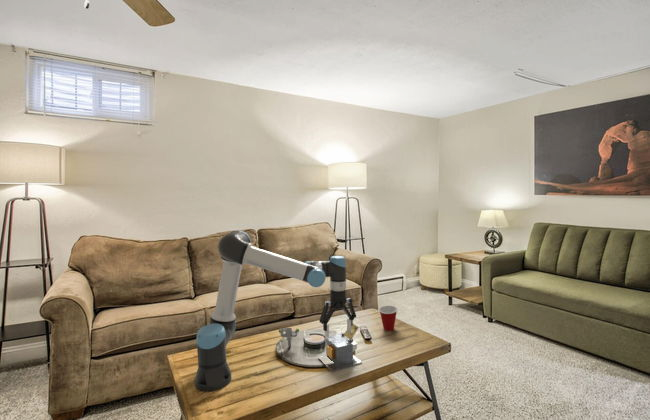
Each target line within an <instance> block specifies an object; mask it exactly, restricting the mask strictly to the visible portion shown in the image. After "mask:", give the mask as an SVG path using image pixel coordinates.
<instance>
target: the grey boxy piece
mask: <svg viewBox="0 0 650 420" xmlns="http://www.w3.org/2000/svg"><path fill="white" fill-rule="evenodd" d="M344 333H345V332H341V333H339V334H335V335H331V336H330V335H329V338H328V339H327V338H326V337H325V351H326V352H325V353H326V355H325V356H327V357H328V358H329V359H330V360H331V361H333V362H334V364H331V365H326V366H325V368H327V370H329V371H330V373H334V372H338V371H341V370H343V369H346V368H347V369H348V368H351V367H354V366H357V365H360V364H362V363H363V362H362V360H361V359H359V358H358V357H356V355H354V350H353V342H354V339H353V338H351V339H348V338H347V337H346V336H344ZM327 345H330V346H331V347H332V348H333V349H334V359H331V358H330V357H329V356H328V355H327ZM323 356H324V355H323ZM323 356H321V357H323Z"/></svg>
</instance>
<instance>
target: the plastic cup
mask: <svg viewBox="0 0 650 420" xmlns="http://www.w3.org/2000/svg"><path fill="white" fill-rule="evenodd" d="M378 312H379V314H380V319H381V323H382V327H383V330H384V331H387V332H390V331H391V332H392V331H394V329H395V325H396V318H397V317H396V316H397V312H398V308H397V306H393V305H383V306H380V307H379V308H378Z"/></svg>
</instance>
